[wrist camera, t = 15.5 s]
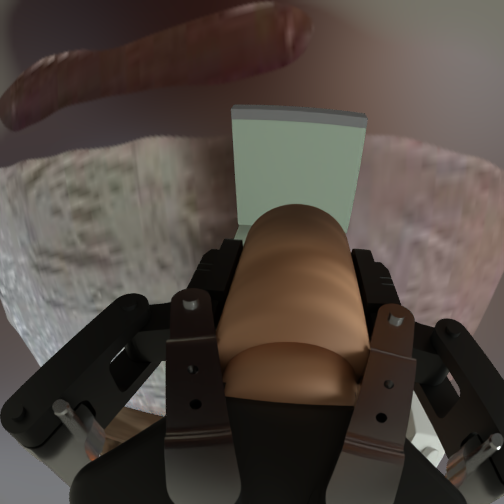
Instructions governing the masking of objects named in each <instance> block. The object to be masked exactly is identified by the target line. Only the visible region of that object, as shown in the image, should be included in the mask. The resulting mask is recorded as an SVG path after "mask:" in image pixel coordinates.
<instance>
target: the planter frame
mask: <svg viewBox="0 0 504 504" xmlns="http://www.w3.org/2000/svg"><path fill="white" fill-rule="evenodd" d="M161 418H163V417H162V416H157V415H153V414H149V413H145V412H142V411H138V410H134V409H131V408H127V407H123V408H122V409H121V411H120V412H119V413H118V414H117V415H116V416H115V418H114V419H113V420H112V421H111V422H110V424H109V425H108V426H107V427H106V428H105V429H104V432H105V436H106V439H105V443H104V446H103V451H102V452H101V453H100V455H101V456H102V455H103V454H105V453H107V452H108V451H110V450H112V449H113V448H115V447H117V446H118V445H120V444H122V443H123V442H125V441H127V440H128V439H130V438H132V437H133V436H135V435H136V434H138V433H140V432H141V431H143V430H144V429H146V428H147V427H149V426H150V425H152V424H154V423H155V422H157V421H158V420H160V419H161Z"/></svg>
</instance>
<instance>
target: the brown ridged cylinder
mask: <svg viewBox="0 0 504 504" xmlns="http://www.w3.org/2000/svg"><path fill="white" fill-rule="evenodd" d="M215 334H216V338H217V345H218V352H219V359H220V366H221V372H222V379H223V382H225V383H226V386H225V390H224V392H225V396H227V397H235V398H243V399H251V400H260V401H270V402H281V403H294V404H310V405H338V406H353V405H354V402H355V392H356V395H357V392H358V390H357V382H358V380H359V378H360V375H361V373H362V371H363V368H364V366H365V363H366V361H367V358H368V355H369V349H370V340H369V334H368V329H367V324H366V319H365V314H364V309H363V304H362V300H361V295H360V290H359V286H358V282H357V277H356V273H355V269H354V264H353V260H352V256H351V252H350V248H349V244H348V241H347V237H346V234H345V232H344V230H343V228H342V227H341V225H340V224H339V223H338V222H337V221H336V220H335V219H334V217H332V216H331V215H330V214H328V213H327V212H325V211H323V210H321V209H319V208H317V207H314V206H310V205H305V204H288V205H283V206H279V207H276V208H273V209H271V210H269V211H267V212H266V213H264V214H263V215H261V216H260V217H259V218H258V219H257V220H256V221H255V222H254V224H253V225H252V226H251V228H250V230H249V232H248V234H247V237H246V240H245V243H244V246H243V249H242V252H241V255H240V258H239V261H238V264H237V267H236V270H235V274H234V277H233V280H232V283H231V286H230V289H229V292H228V295H227V298H226V301H225V305H224V308H223V311H222V314H221V317H220V320H219V323H218V326H217V330H216V333H215Z"/></svg>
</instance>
